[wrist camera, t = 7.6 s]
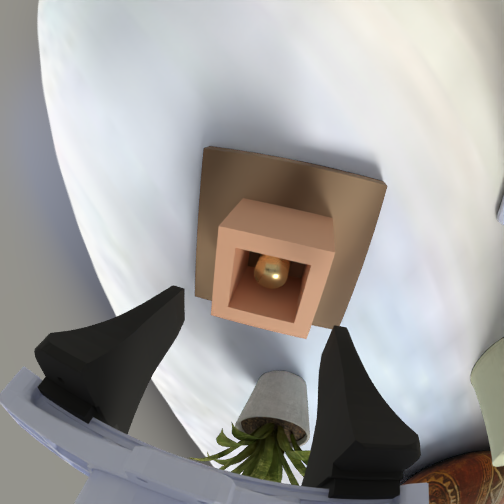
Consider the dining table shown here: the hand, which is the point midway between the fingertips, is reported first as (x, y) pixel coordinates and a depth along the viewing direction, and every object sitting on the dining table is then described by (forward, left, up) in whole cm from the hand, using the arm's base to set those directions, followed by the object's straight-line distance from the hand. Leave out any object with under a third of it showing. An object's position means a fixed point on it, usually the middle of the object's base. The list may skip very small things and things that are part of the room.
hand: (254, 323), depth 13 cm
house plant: (-2, +16, -9) cm, 19 cm away
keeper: (0, 0, -9) cm, 9 cm away
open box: (0, 0, -8) cm, 8 cm away
